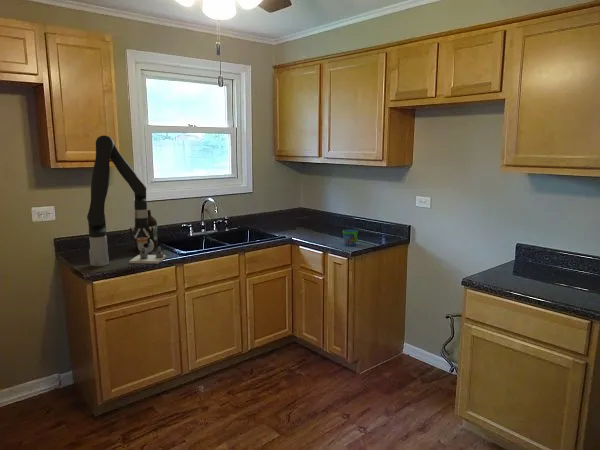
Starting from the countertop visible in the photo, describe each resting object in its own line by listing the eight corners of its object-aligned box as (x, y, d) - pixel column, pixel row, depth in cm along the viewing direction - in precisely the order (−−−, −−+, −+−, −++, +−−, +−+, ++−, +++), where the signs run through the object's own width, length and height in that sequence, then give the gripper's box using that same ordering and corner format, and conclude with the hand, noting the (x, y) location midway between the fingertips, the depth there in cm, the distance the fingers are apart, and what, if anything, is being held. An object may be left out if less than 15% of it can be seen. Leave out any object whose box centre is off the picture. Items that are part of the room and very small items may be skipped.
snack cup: (338, 243, 316) (338, 229, 314) (352, 242, 319) (352, 228, 317) (347, 248, 301) (348, 233, 299) (361, 247, 305) (362, 232, 303)
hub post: (154, 258, 272) (154, 247, 270) (157, 256, 276) (156, 245, 275) (161, 258, 271) (161, 247, 270) (164, 256, 276) (163, 245, 274)
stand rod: (139, 259, 269) (138, 248, 268) (141, 257, 273) (141, 246, 272) (146, 259, 269) (145, 248, 268) (149, 257, 273) (148, 247, 272)
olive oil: (140, 247, 304) (137, 211, 299) (145, 243, 314) (142, 208, 310) (155, 247, 304) (153, 211, 299) (160, 243, 315) (158, 208, 310)
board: (129, 263, 266) (129, 260, 265) (139, 257, 279) (138, 254, 279) (157, 263, 265) (157, 261, 265) (165, 257, 279) (165, 255, 278)
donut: (154, 251, 292) (153, 236, 290) (154, 253, 289) (153, 238, 287) (138, 253, 288) (136, 238, 286) (138, 254, 285) (137, 239, 283)
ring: (136, 243, 265) (136, 239, 265) (137, 241, 271) (137, 237, 271) (147, 242, 267) (147, 239, 267) (147, 240, 273) (147, 237, 272)
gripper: (127, 218, 261) (129, 246, 264) (153, 217, 264) (154, 245, 268) (129, 215, 268) (130, 243, 271) (154, 215, 272) (155, 242, 275)
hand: (142, 244), depth 269 cm, fingers closed on ring, 6 cm apart
